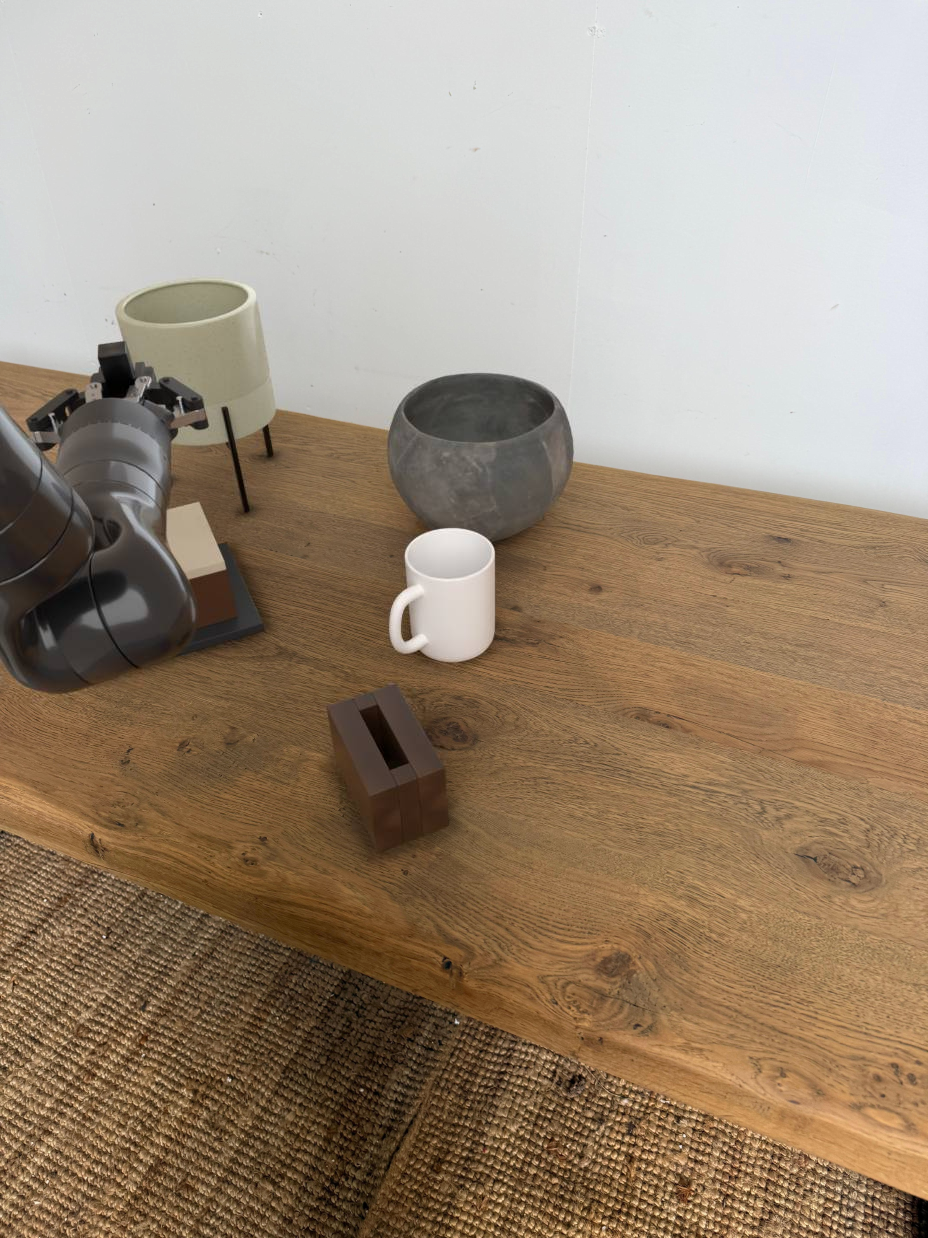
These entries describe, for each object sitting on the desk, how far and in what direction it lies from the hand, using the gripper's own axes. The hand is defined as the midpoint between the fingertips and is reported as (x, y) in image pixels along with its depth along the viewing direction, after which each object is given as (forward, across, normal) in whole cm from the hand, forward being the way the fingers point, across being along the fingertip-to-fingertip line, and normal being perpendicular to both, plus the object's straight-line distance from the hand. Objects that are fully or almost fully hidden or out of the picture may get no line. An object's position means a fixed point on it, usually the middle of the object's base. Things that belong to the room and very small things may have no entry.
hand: (124, 374), depth 73 cm
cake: (+1, +2, +26) cm, 26 cm away
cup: (-12, -24, +26) cm, 37 cm away
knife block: (-29, -15, +26) cm, 42 cm away
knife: (-3, 0, +12) cm, 13 cm away
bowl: (+8, -33, +26) cm, 43 cm away
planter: (+26, -4, +26) cm, 37 cm away
